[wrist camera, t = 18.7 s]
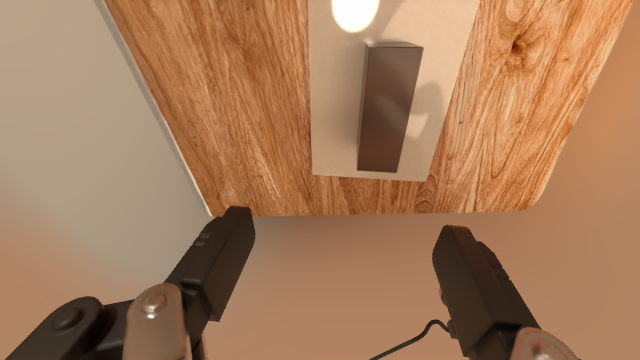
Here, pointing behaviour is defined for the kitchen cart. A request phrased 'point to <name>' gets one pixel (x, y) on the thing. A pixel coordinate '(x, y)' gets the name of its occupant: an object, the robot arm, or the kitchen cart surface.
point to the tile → (347, 72)
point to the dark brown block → (385, 103)
